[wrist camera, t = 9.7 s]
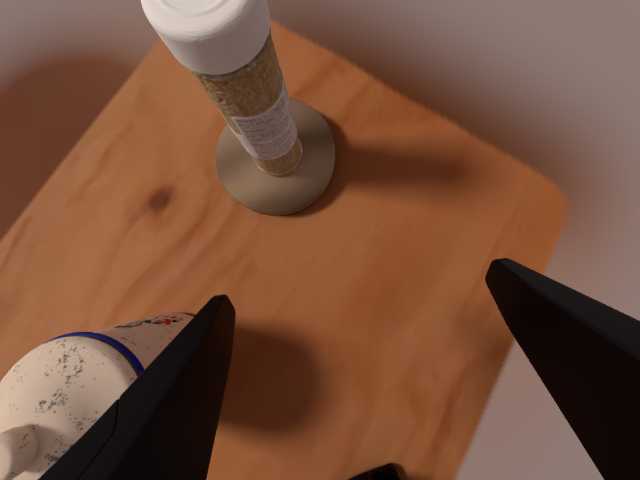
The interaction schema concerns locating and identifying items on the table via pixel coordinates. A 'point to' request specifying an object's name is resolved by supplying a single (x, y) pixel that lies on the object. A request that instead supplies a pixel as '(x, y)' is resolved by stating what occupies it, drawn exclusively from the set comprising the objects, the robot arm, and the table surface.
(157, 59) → the table surface
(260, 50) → the sprinkles bottle
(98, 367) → the cream ceramic jar
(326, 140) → the grey-brown round disc
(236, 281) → the table surface
